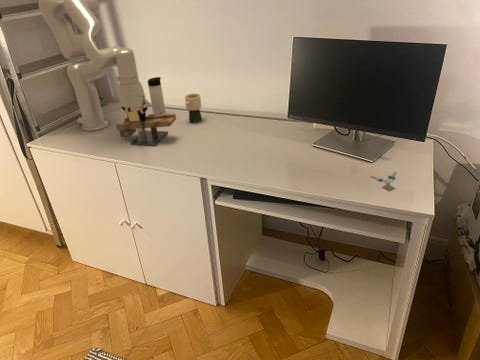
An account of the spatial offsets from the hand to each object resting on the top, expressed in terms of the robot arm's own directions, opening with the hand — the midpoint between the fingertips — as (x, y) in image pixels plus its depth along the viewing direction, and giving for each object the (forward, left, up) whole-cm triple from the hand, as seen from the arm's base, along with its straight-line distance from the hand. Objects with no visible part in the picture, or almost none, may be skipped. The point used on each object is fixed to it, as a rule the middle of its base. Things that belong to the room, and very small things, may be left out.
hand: (137, 120), depth 163 cm
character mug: (+18, +23, -9) cm, 31 cm away
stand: (+4, 0, -9) cm, 10 cm away
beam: (+5, 0, -6) cm, 7 cm away
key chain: (+101, -24, -9) cm, 104 cm away
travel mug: (-3, +28, -9) cm, 29 cm away
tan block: (0, 0, -1) cm, 1 cm away
